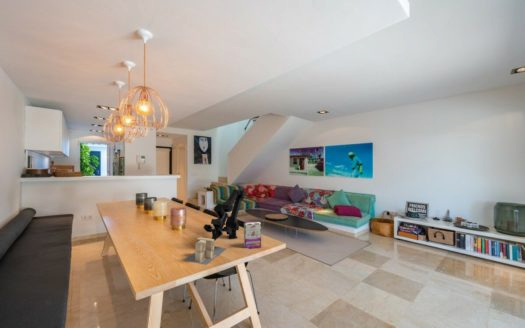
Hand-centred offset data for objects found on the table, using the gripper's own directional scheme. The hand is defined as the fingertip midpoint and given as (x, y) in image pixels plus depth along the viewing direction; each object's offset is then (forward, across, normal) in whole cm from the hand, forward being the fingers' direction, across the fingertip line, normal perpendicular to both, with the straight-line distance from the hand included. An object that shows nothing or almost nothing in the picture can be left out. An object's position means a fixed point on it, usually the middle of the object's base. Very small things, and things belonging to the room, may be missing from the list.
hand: (212, 241), depth 135 cm
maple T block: (+12, 0, -4) cm, 13 cm away
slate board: (+8, -1, 0) cm, 9 cm away
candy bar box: (-6, +21, +16) cm, 27 cm away
